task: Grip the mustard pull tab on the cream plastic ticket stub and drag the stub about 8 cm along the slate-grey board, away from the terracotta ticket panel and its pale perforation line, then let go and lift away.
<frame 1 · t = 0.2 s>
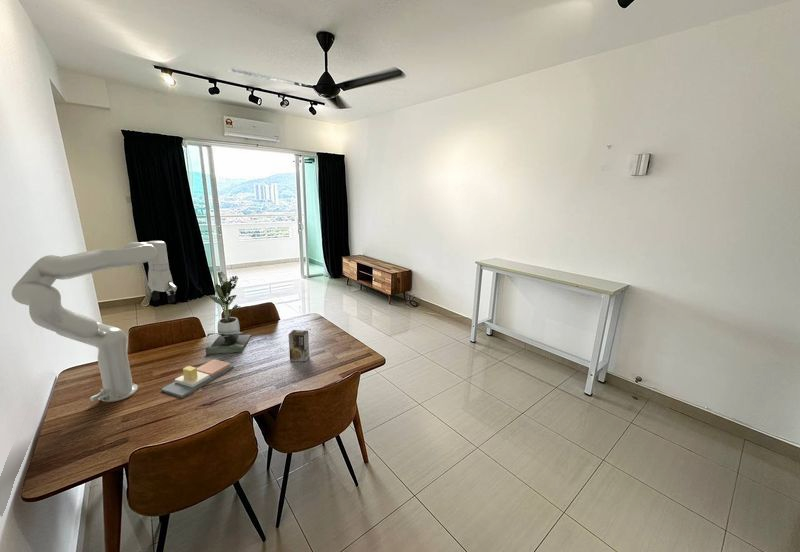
hand: (164, 301, 153), 36 cm above the table, tool pointing down, fingers open, 9 cm apart
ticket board: (200, 378, 154), on the table
coffee box: (299, 359, 177), on the table
potted plant: (230, 345, 189), on the table
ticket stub: (192, 373, 149), point 5 cm above the table, slide at 0.0 cm
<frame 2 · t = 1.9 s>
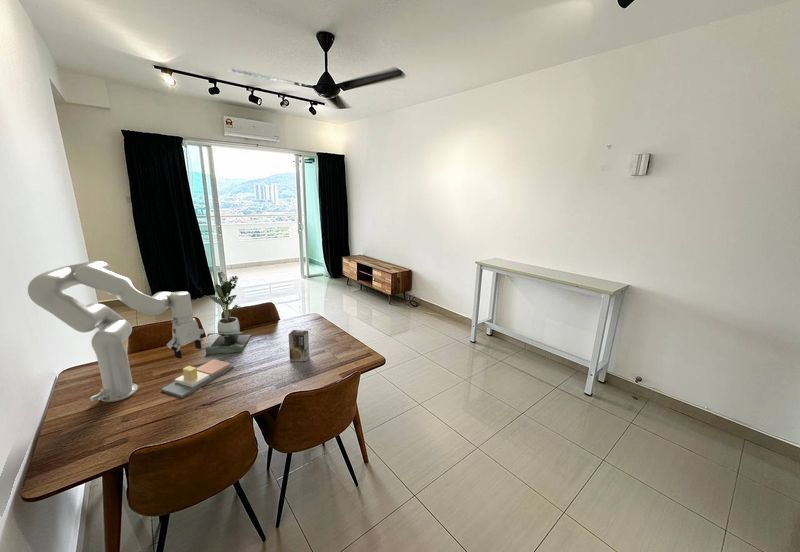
hand: (188, 353, 146), 16 cm above the table, tool pointing down, fingers open, 9 cm apart
nothing on the table moved.
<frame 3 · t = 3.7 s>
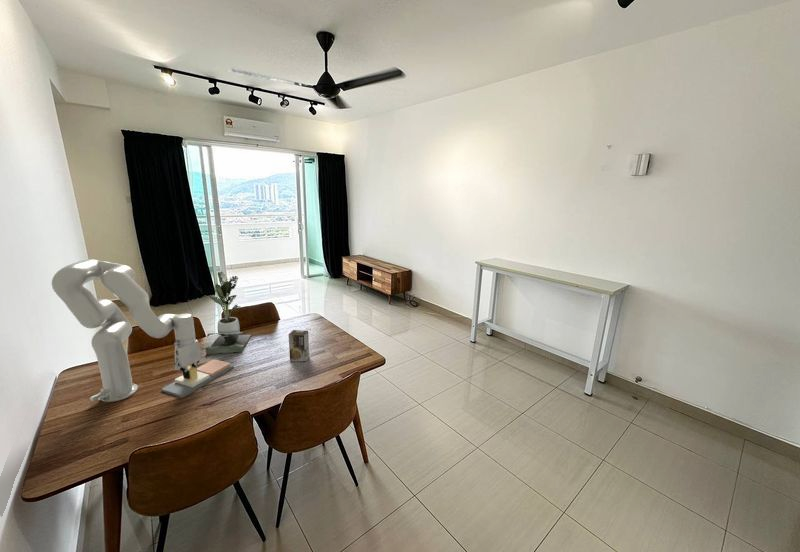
hand: (190, 375, 149), 4 cm above the table, tool pointing down, fingers closed on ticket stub, 3 cm apart
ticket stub: (192, 373, 149), point 5 cm above the table, slide at 0.0 cm, touching gripper
everything else where it was.
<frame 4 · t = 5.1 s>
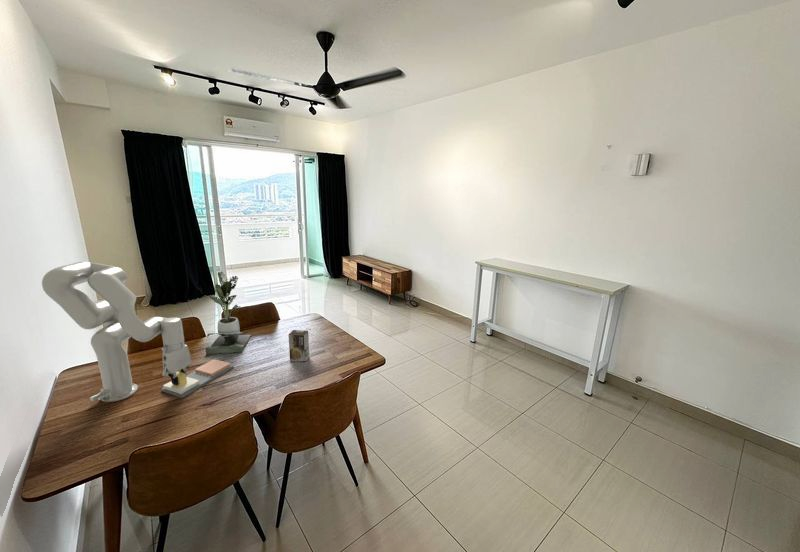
hand: (179, 381, 144), 4 cm above the table, tool pointing down, fingers closed on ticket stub, 3 cm apart
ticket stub: (181, 379, 144), point 5 cm above the table, slide at 5.4 cm, touching gripper
everything else where it was.
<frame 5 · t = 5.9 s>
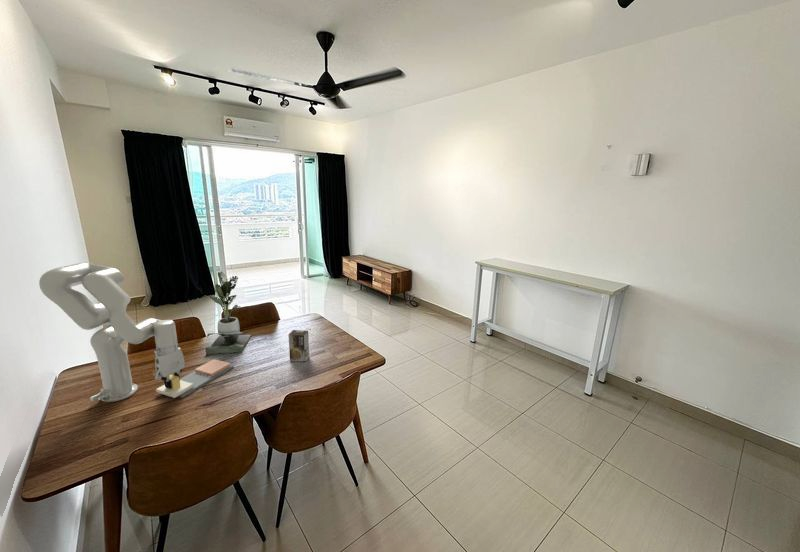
hand: (172, 385, 141), 4 cm above the table, tool pointing down, fingers closed on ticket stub, 3 cm apart
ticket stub: (174, 383, 142), point 5 cm above the table, slide at 8.4 cm, touching gripper
everything else where it was.
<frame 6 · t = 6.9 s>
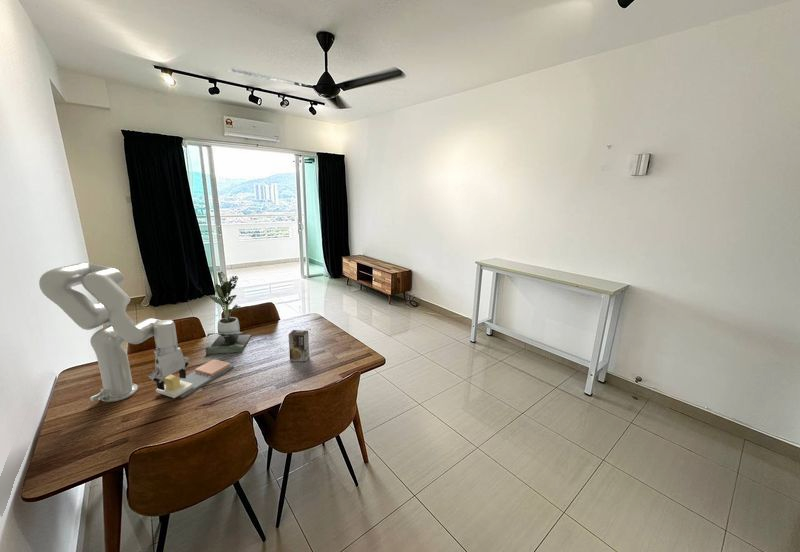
hand: (172, 383, 141), 5 cm above the table, tool pointing down, fingers open, 9 cm apart
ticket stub: (174, 383, 142), point 5 cm above the table, slide at 8.5 cm
everything else where it was.
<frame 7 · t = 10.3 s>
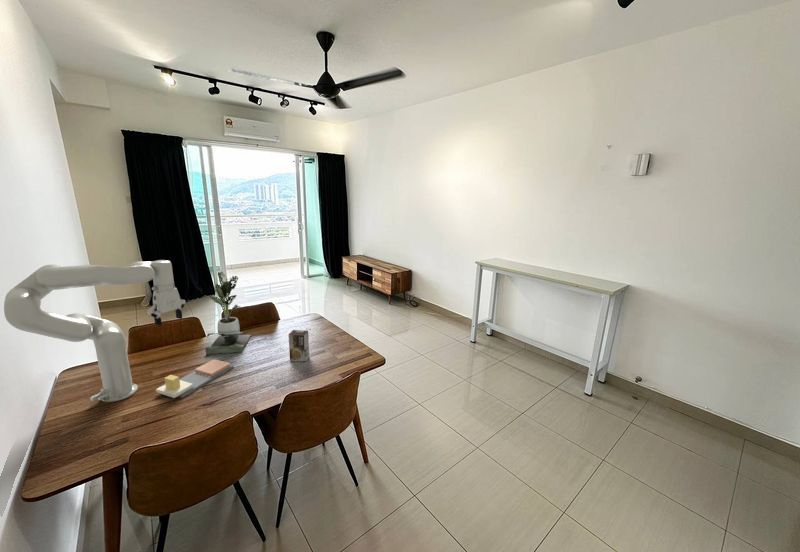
hand: (169, 321, 149), 28 cm above the table, tool pointing down, fingers open, 9 cm apart
nothing on the table moved.
at the end: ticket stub slide at 8.5 cm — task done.
